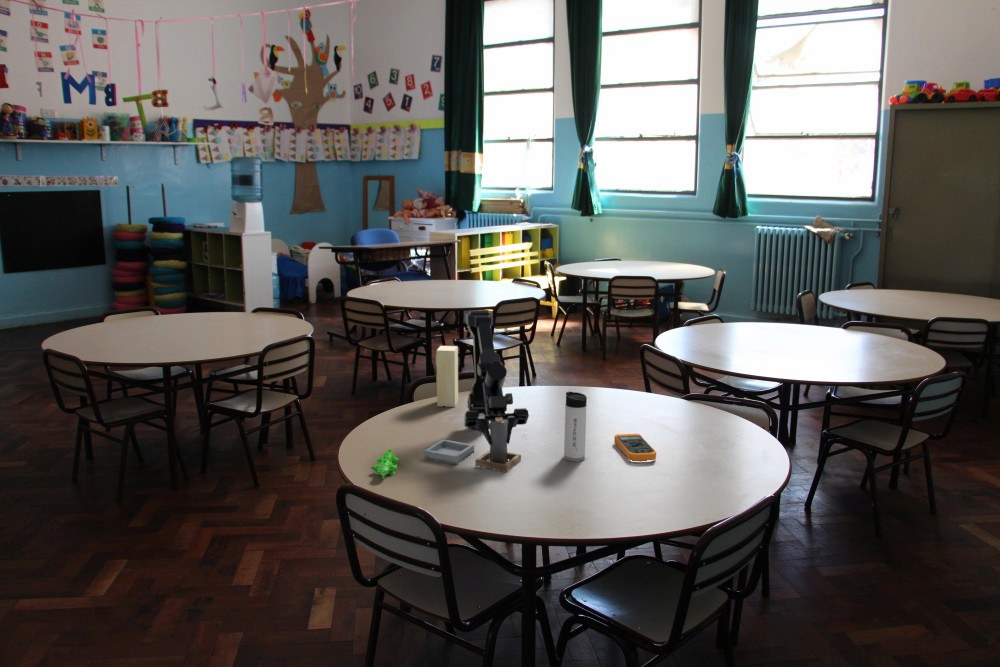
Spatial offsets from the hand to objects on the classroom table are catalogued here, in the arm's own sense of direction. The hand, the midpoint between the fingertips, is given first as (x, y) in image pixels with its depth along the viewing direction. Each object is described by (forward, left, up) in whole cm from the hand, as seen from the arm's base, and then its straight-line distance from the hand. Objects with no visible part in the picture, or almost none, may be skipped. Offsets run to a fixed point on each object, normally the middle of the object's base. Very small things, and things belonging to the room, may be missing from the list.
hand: (499, 443), depth 229 cm
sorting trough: (0, -17, -7) cm, 18 cm away
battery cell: (-1, -1, -7) cm, 7 cm away
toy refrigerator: (-45, -44, -7) cm, 63 cm away
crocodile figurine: (+18, -28, -7) cm, 33 cm away
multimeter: (-29, +32, -7) cm, 44 cm away
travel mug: (-16, +17, -7) cm, 25 cm away
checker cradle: (-1, -1, -7) cm, 7 cm away
